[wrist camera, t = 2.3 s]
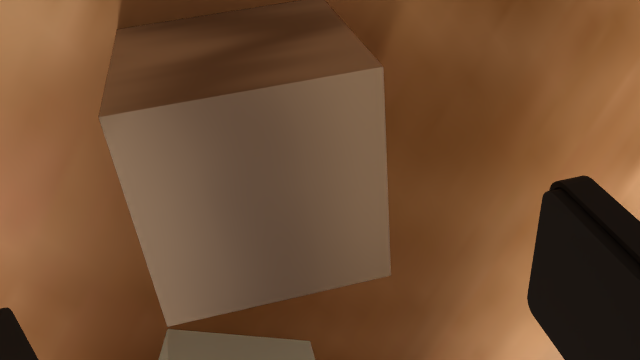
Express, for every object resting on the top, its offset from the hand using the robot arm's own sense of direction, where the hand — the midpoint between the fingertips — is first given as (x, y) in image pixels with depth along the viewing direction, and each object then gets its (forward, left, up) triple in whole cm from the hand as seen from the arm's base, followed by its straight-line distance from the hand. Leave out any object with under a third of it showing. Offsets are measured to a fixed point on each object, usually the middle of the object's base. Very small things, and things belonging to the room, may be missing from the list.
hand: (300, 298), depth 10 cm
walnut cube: (0, +1, -10) cm, 10 cm away
